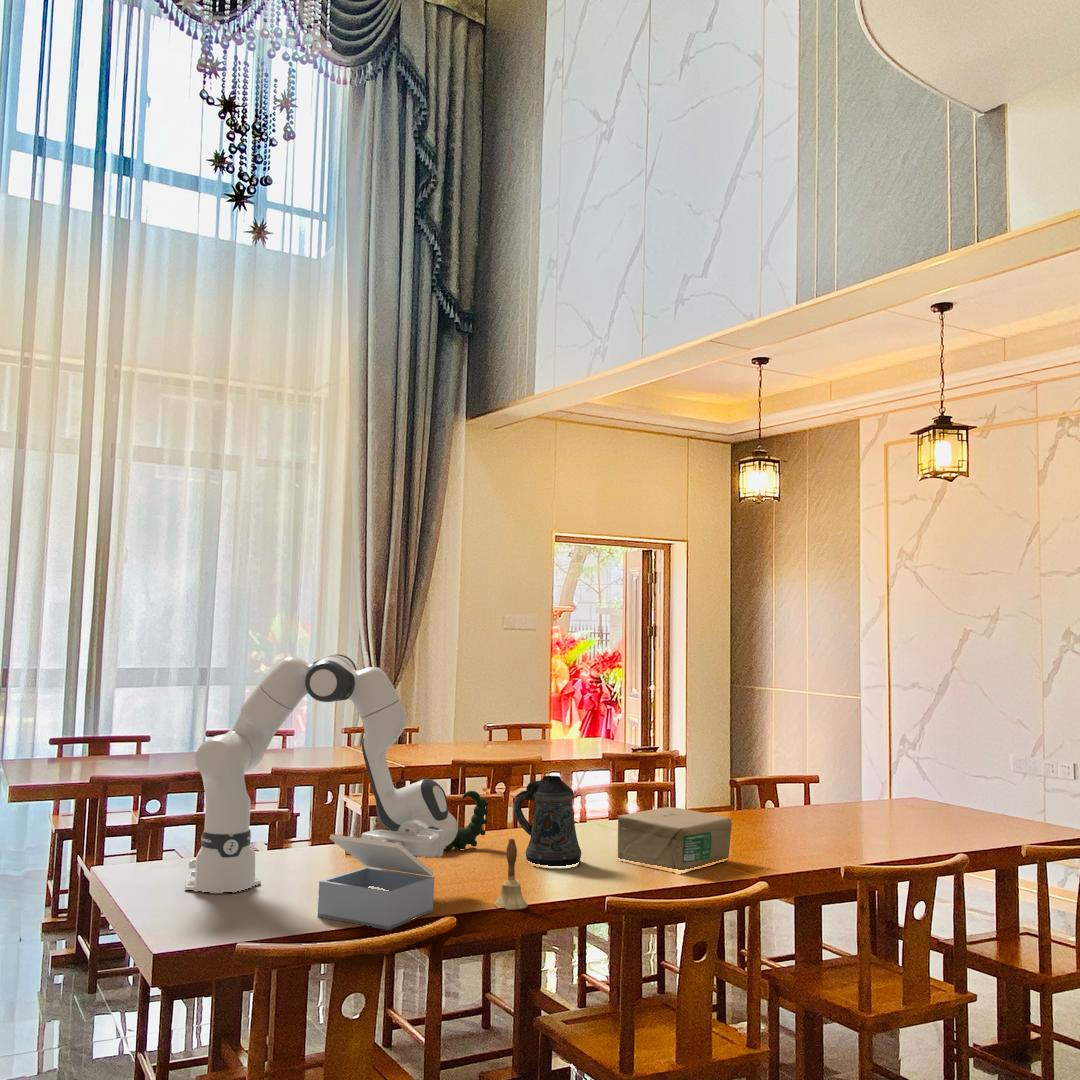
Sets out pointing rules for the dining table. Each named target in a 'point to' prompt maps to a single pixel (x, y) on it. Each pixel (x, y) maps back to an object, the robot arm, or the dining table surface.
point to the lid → (381, 854)
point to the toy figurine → (471, 824)
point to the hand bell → (511, 883)
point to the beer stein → (549, 823)
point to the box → (376, 897)
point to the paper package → (673, 837)
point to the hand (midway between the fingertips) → (381, 848)
